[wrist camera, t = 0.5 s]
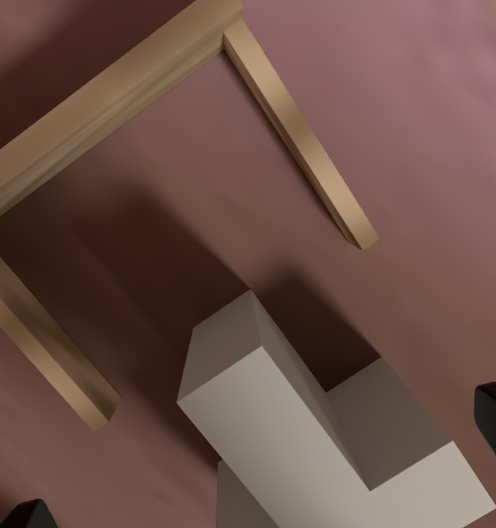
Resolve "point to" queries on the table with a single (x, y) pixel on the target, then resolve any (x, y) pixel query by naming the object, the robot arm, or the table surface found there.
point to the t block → (317, 437)
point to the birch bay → (111, 118)
